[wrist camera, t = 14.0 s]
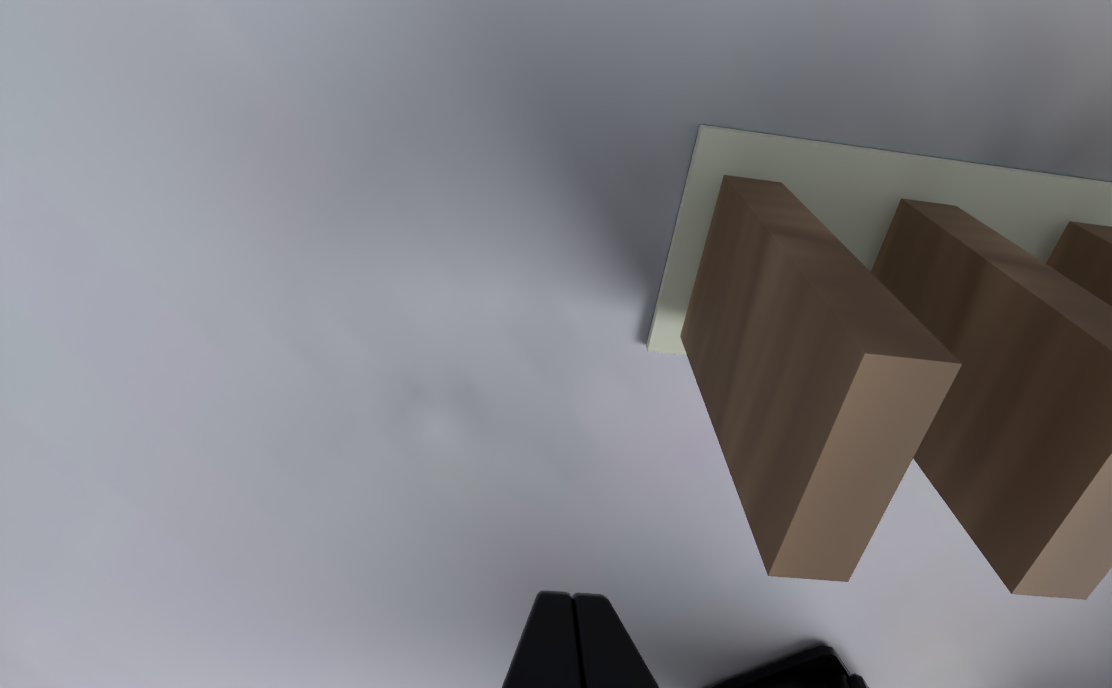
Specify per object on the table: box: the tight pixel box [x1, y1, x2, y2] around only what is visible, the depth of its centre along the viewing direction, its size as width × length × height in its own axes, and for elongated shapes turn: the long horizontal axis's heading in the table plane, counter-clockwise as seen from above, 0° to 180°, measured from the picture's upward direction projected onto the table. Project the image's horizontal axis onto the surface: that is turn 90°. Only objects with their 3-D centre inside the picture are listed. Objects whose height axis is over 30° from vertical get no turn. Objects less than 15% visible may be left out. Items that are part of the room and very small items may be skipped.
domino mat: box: [646, 125, 1112, 355], centre depth 21 cm, size 23×7×1 cm, turn 82°
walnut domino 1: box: [680, 175, 962, 582], centre depth 16 cm, size 2×5×9 cm, turn 172°
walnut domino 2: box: [871, 198, 1112, 599], centre depth 16 cm, size 2×5×9 cm, turn 172°
